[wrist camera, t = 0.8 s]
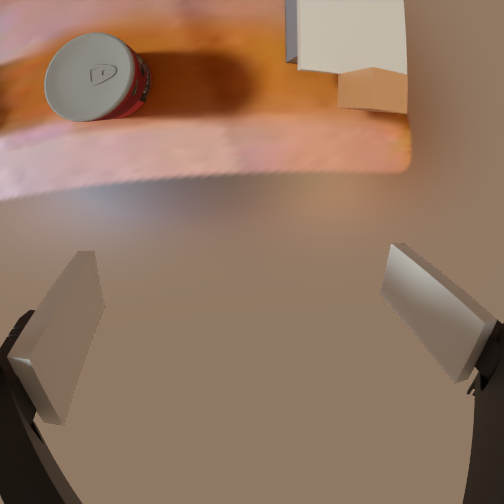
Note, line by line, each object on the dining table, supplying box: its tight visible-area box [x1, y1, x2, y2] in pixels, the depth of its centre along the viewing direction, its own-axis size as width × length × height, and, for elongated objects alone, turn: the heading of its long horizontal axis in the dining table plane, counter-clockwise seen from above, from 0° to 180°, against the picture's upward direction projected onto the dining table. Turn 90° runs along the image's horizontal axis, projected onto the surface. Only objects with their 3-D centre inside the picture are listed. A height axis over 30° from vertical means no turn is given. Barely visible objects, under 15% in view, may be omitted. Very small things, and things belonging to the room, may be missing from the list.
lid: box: [297, 0, 408, 114], centre depth 22 cm, size 22×12×8 cm, turn 0°
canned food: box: [44, 33, 152, 122], centre depth 25 cm, size 8×8×11 cm
